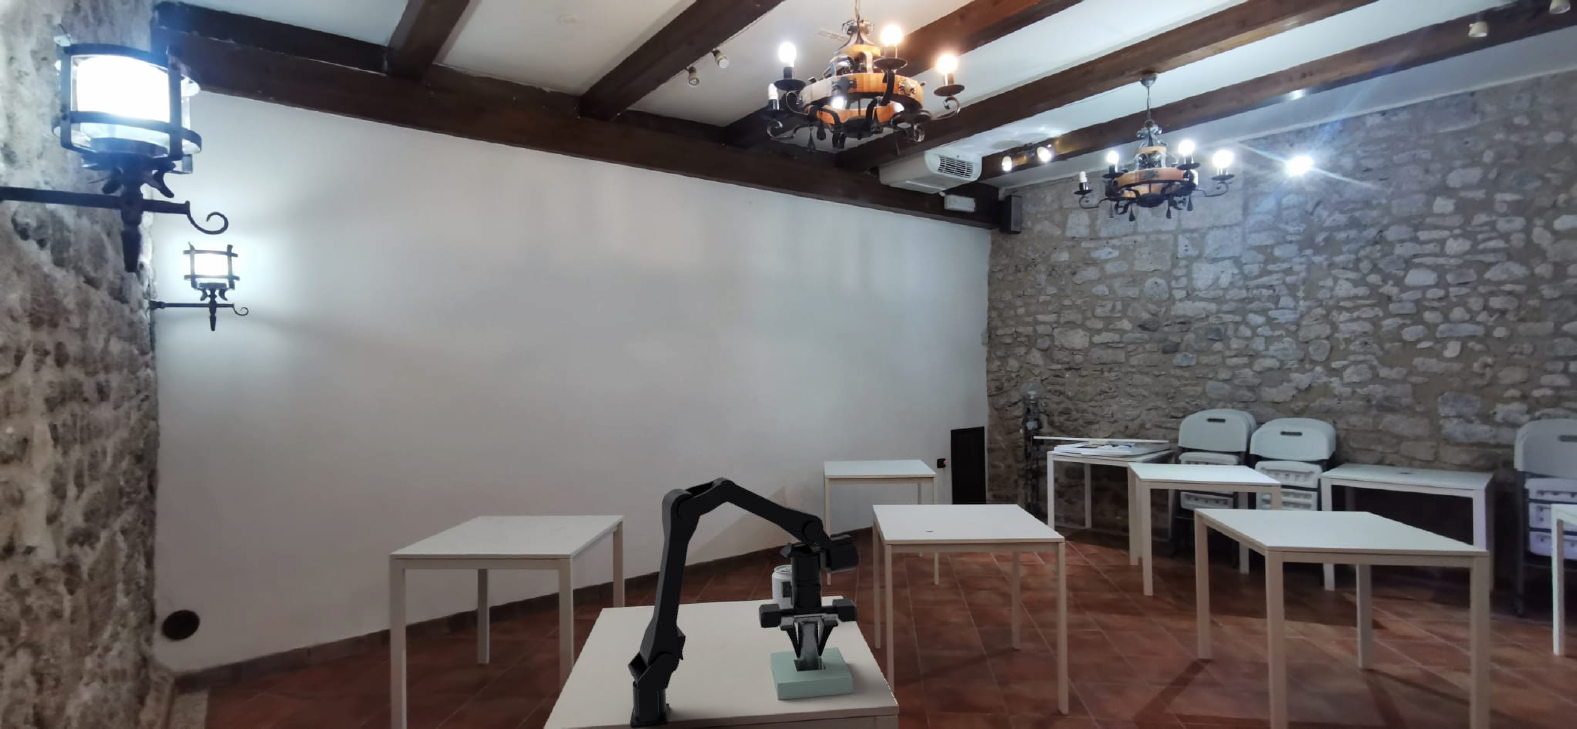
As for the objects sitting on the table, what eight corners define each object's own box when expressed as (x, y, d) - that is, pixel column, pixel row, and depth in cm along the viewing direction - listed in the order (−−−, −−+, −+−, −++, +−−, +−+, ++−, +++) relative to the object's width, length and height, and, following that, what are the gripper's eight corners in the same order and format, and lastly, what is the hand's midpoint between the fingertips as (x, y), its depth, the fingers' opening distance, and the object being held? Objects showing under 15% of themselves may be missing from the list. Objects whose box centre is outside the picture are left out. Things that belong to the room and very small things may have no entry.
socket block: (852, 692, 132) (852, 676, 132) (778, 699, 131) (777, 683, 131) (838, 661, 146) (838, 647, 146) (770, 667, 145) (770, 652, 145)
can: (767, 619, 172) (766, 570, 172) (782, 609, 178) (780, 562, 178) (795, 624, 168) (793, 573, 168) (809, 613, 175) (807, 565, 175)
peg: (821, 675, 137) (819, 623, 137) (800, 677, 136) (798, 625, 136) (817, 666, 141) (816, 616, 141) (797, 668, 140) (796, 617, 140)
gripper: (845, 562, 147) (847, 637, 147) (755, 568, 145) (758, 644, 145) (856, 577, 136) (859, 659, 136) (759, 584, 134) (762, 667, 134)
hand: (808, 656), depth 138 cm, fingers closed on peg, 4 cm apart
